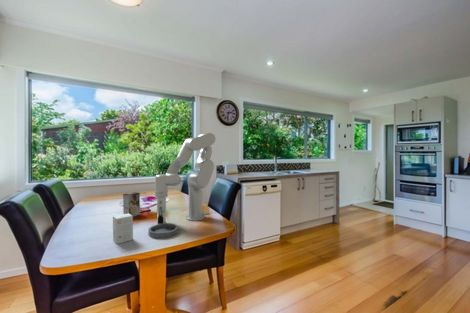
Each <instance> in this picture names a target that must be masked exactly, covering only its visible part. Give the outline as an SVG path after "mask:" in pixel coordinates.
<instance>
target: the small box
mask: <svg viewBox="0 0 470 313" xmlns="http://www.w3.org/2000/svg"><path fill="white" fill-rule="evenodd" d="M133 218H134V216H132V215H131V214H129V213H128V214H123V213H122V214H117V215H112V235H113V236H112V240H113V242H114V243H115V244H116V245H117V244H121V243H126V242H130V241H133V240H134V225H133V224H134V223H133V221H134V219H133Z"/></svg>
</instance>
